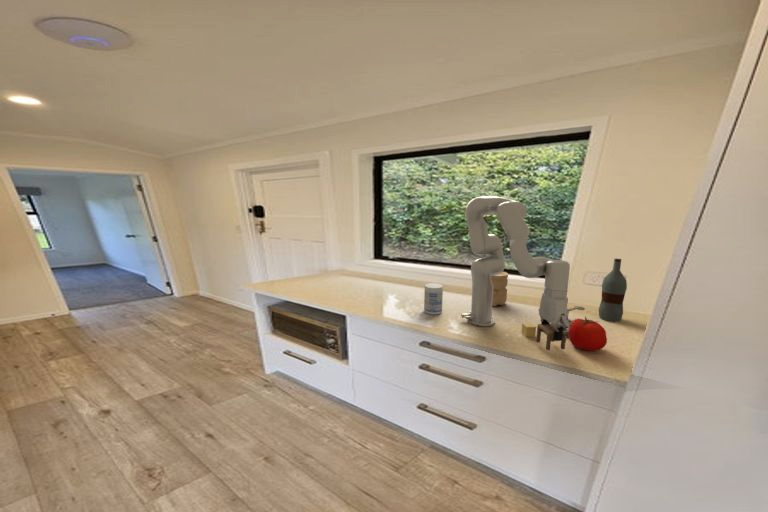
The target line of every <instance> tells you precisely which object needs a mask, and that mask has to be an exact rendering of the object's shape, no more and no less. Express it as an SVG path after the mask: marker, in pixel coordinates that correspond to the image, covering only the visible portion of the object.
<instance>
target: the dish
mask: <svg viewBox="0 0 768 512" xmlns="http://www.w3.org/2000/svg"><path fill="white" fill-rule="evenodd" d="M550 324H552V323H550ZM538 325H541V323H538V324H537V326H538ZM558 327H560V325H558ZM565 331H566V332H567V334H566V338H567V337H569V334H568V331H569V329H568V328H567V329H566V330H565ZM543 333H544V334H546V335H547V333H546V332H543Z"/></svg>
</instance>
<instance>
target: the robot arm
mask: <svg viewBox="0 0 768 512" xmlns="http://www.w3.org/2000/svg"><path fill="white" fill-rule="evenodd" d="M527 212H528V211H527V207H526V205H525V204H524V203H523V202H521V201H518V200H514V199H509V198H505V197H501V196H478V197H474V198H472V199H471V200H470V201H469V202H468V203H467V206H466V207H465V215H464V216H465V219H466V224H467V228H468V229H467V230H468V236H469V237H468V238H469V243H470V248H471V250H470V251H472V254H474V255H476V256H484V255H485V256H484V257H480V258H477V259H475V260H474V261H473V262H471V266H470V274H471V306H470V310H469V311H468V312H467V313H461V316H460V317H461V318H462V319H463V318H465V319H466V320H467V322H468V323H470V324H471V323H472V324H471V325H473V326H474V325H475V326H477V325H479V326H478V327H492V326H493V325H494V324H496V322H495V321H496V320H495V318H493V317H492V315H493V306H492V301H493V283H492V280H491V277H492V276H495V275H498V274H500V273H502V272H504V269H505V256H504V250H503V244H502V241H501V238H499V237H500V236H498V235H496V234H493V233H489V230H488V229H489V228H488V224H487V222H486V220H485V219H484V216H492V215H493V216H496V218H497V219H498V221H499V223H500V225H501V227H502V229H503V231H504V232H505V234H506V236H507V238H508V240H509V254H510V258H511V260H512V262H513V264H514V266H515V268H516V270H517V271H518V273H519V274H520V276H522V277H524V278H526V279H533V278H537V277H540V276H545V277H544V287H543V288H544V289H543V292H542V295H541V296H540V297H541V299H540V303H539V307H538V316H539V317H540V322H541V323H540V324H541V325H545V324H551V323H552V324H554V325H555V330H556V331H554V337H553V340H554V342H561V341H562V337H563V331H565V330H566V329H567V330H568V329H569V327H570V326H569V324H568V322H569V321H568V322H567V309H568V302H567V299H566V298H567V297H568V289H569V288H568V287H569V281H570V279H569V277H570V269H571V265H570V263H569V261H566V260H561V259H552V258H550V257H549V258H548V257H546V256H535V257H532V256H531V254H530V252H529V250H528V247H527V241H528V238H529V235H530V233H531V230H530V228H529V226H528V224H527V222H526V220H525V219H524V218H525V217H526V215H527ZM558 325H560V327H559V328H558ZM541 333H544V331H543V330H542V329H541Z"/></svg>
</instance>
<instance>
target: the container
mask: <svg viewBox="0 0 768 512" xmlns="http://www.w3.org/2000/svg"><path fill="white" fill-rule="evenodd" d="M508 279H509V273H508V272H506V271H503V272H502V273H500V274H498V275H495V276H492V277H491V280H492V283H493V301H492V307H497V306H504V305H505V304H506V302H507V297H508V288H506V287H507V286H508V284H509V283H508V282H509V281H508Z"/></svg>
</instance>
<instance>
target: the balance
mask: <svg viewBox="0 0 768 512" xmlns="http://www.w3.org/2000/svg"><path fill="white" fill-rule="evenodd" d="M575 310H578V311H585V307H583V306H579V305H577V306H576V305H575V306H574V307H570V308H567V322H568V324H569V327H570V326H571V324H572V323H571V322H570V321H568V320H569V313H570V312H572V311H575Z"/></svg>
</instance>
